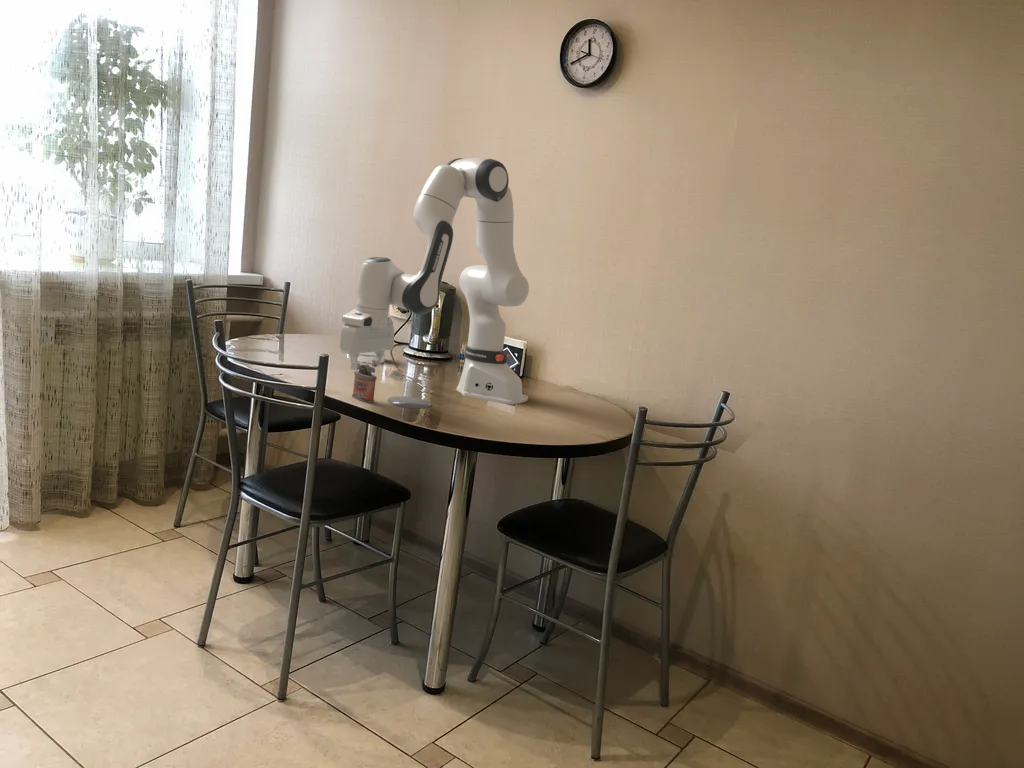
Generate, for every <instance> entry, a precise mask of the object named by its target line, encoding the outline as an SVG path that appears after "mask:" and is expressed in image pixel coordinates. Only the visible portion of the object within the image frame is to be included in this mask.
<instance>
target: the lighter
mask: <svg viewBox="0 0 1024 768" xmlns="http://www.w3.org/2000/svg"><path fill="white" fill-rule="evenodd" d="M375 372H376V368H375V367H373V366H370V365H369V363H365V364H363V363H360V366H359V369H358V370H354V380H353V390H352V394H351V398H353V399H355V400H357V401H360V402H362V403H363V402H364V403H368V404H373V403H375V399H374V398H375V390H376V381H377V377H378V376H377V375H375V374H372V373H375Z"/></svg>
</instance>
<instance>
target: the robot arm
mask: <svg viewBox="0 0 1024 768" xmlns="http://www.w3.org/2000/svg"><path fill="white" fill-rule="evenodd" d="M509 182H510V181H509V173H508V171H507V168H506V167H505V165H504V164H503V163H502V162H501V161H499V160H496V159H492V158H483V157H469V158H468V157H467V158H462V157H461V158H455V159H452V160H450V161H448V162H447V163H446V164H440V165H438V166H436V167H435V168H434V169H433V170H432V171H431V173H430V175H429V176H428V178H427V180H426V181H425V183H424V185H423V187H422V188H421V190H420V194H419V196H418V198H417V200H416V202H415V205H414V208H413V214H412V216H413V220H414V222H415V225H416V227H417V228H418V230H419V231H420V232H421V233H423V235H425V238H426V239H427V240H426V241H427V247H426V251H425V255H424V257H423V260H422V264H421V267H420V270H419V272H418V273H416V274H412V273H408V272H405V271H404V270H402V269H400V268H399V267H398V266H396V264H395V263H394V262H393V261H392V259H390V258H388V257H385V256H384V257H380V256H375V257H368V258H366V259H365V260H364V259H363V262H362V264H361V266H360V269H359V275H358V279H357V280H358V282H357V294H358V295H357V298H356V302H355V305H354V306H355V308H353V309H352V310H350V311H349V312H347V313H345V314H343V316H342V318H341V323H343V325H342V328H341V330H340V335H339V336H340V338H339V349H340V352H341V353H342V354H346V355H347V354H349V358H350V360H349V362H350V370H354V371H359V366H360V364H361V362H358V360H357V358H358V357H359V353H368V352H375V353H376V355H375V357H374V360H372V363H371V367H373V368H377V367H380V365H381V363H380V361H381V359H382V357H383V355H385V354H384V351H385V352H386V351H392V349H393V347H394V344H395V343H394V342H395V327H394V322H393V320H392V318H391V317H390V316H389V312H390V311H389V310H390V305H391V306H395V307H397V308H399V309H402V310H403V309H404V310H407V311H409V312H411V313H413V314H416V315H420V316H422V315H426V314H429V313H430V312H432V311H433V310H434V309H435V307H436V306H437V304H438V303H439V299H440V294H441V283H442V279H443V275H444V272H445V269H446V265H447V261H448V258H449V255H450V252H451V248H452V245H453V244H452V243H453V238H454V229H453V223H454V219H455V216H456V213H457V211H458V209H459V207H460V206H459V205H460V203H461V200H462V199H463V198H464V197H465V198H471V199H472V198H473V199H474V200H475V201H476V204H477V209H476V226H475V227H476V229H475V233H476V234H475V246H476V249H477V250H478V252H479V253H480V254H481V256H482V257H483V261H484V263H485V265H484V264H475V265H469V266H467V267H465V268H464V269H463V270H462V272H461V274H460V276H459V281H458V283H459V289H460V291H461V292H462V294H463V295H464V297H465V300H466V303H467V307H468V308H467V309H468V314H469V315H468V316H469V329H468V336H467V337H468V339H467V344H466V346H465V350H464V358H463V364H464V365H463V368H462V373H461V376H460V378H459V379H460V380H459V382H458V385H457V386H456V391H457V392H459V393H460V394H461V395H462V396H463V397H469V398H473V399H478V400H479V399H480V400H483V401H484V400H485V401H490V402H496V403H501V404H506V405H516V404H517V405H518V404H522V403H524V402H528V400H529V396H528V395H525V394H524V393H523V383H522V379H521V378H520V377H519V376H518V375H517V374H516V373H515V371H514V370H513V369H512V367H510V366H509V365H508V363H507V361H508V359H509V358H510V355H511V354H509V353H508V354H507V353H506V352H505V351H504V346H505V337H506V330H507V329H506V328H507V327H506V323H505V321H504V319H503V318H502V317H501V314H500V311H499V306H500V307H504V308H507V307H509V308H510V307H511V308H513V307H518V306H521V305H522V304H523V303H524V302H526V300H527V298H528V296H529V292H530V286H529V281H528V280H527V278H526V277H525V276H524V275H523V273H522V271H521V270H520V266H519V264H518V262H517V259H516V254H515V248H514V216H515V215H514V201H513V194H512V190H511V188H510V187H509Z"/></svg>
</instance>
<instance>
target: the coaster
mask: <svg viewBox="0 0 1024 768" xmlns="http://www.w3.org/2000/svg"><path fill="white" fill-rule="evenodd" d="M387 402H388V403H389V404H390V405H392V406H396V407H400V408H406V409H417V410H418V409H427V408H430V407H431V406H432V402H431V401H428V400H426V399H424V398H419V397H415V396H405V395H404V396H403V395H401V396H400V395H398V396H390V397H388V398H387Z"/></svg>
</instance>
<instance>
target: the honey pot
mask: <svg viewBox="0 0 1024 768" xmlns="http://www.w3.org/2000/svg"><path fill="white" fill-rule="evenodd" d="M375 355H376V353H375V352H368V353H359V357H358V358H357V360H358V361H360V362H359V363H362V362H366V363H365V364H372V360H374V357H375ZM346 356H347V358H349V354H346ZM385 357H386V351H384V355H383V357H382V359H381V361H380V364H382V363H384V362H385ZM347 358H346V359H347ZM349 359H350V358H349ZM349 359H348V360H349Z"/></svg>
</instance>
